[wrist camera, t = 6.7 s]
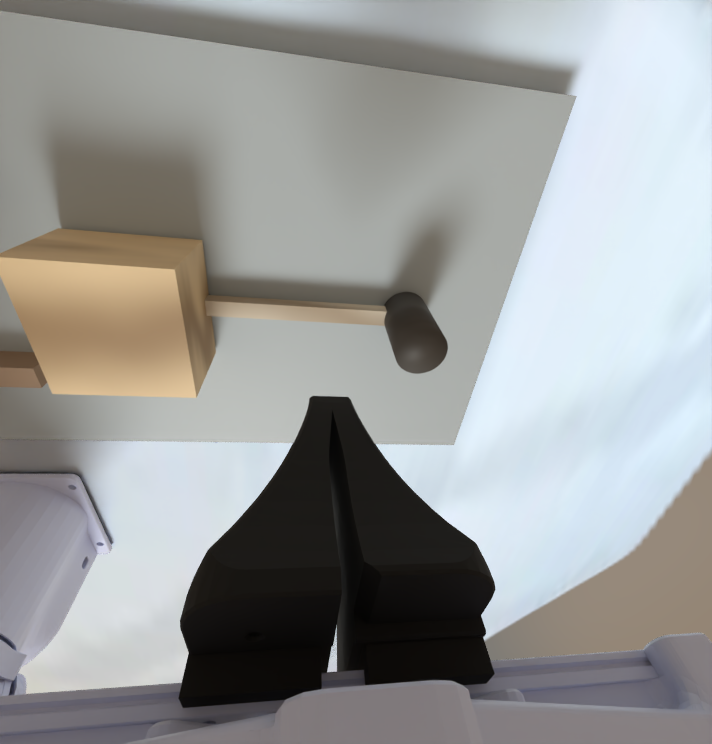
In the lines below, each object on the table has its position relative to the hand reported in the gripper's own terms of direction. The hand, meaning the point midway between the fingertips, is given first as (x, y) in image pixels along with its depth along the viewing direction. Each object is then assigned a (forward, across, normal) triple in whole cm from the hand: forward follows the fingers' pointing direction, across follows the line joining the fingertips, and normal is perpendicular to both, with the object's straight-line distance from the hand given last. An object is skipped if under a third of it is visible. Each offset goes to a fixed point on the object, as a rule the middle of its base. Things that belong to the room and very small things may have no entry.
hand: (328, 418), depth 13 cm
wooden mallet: (+8, +3, -1) cm, 9 cm away
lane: (+9, +9, 0) cm, 13 cm away
